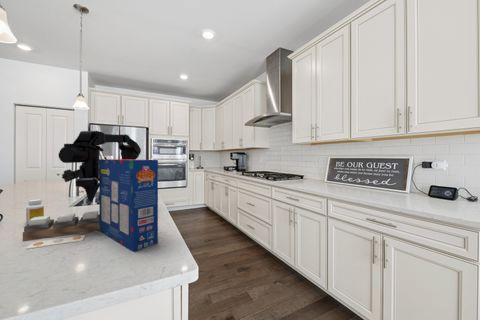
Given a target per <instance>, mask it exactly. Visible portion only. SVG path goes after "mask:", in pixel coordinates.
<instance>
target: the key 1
mask: <svg viewBox="0 0 480 320" xmlns="http://www.w3.org/2000/svg"><path fill="white" fill-rule="evenodd" d="M50 220H51V215H44V216H42V217H34V218H32V219H31V220H29V226H31V225H40V224H47V223H48V222H50Z"/></svg>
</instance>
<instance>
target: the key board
mask: <svg viewBox="0 0 480 320" xmlns="http://www.w3.org/2000/svg"><path fill="white" fill-rule="evenodd" d="M92 232H93V233H94V232H100V231H99V213H98V218H93V219H84V220H83V216H82V217H81V218H80V217H79V216H75V220H74V221H66V222H58V223H57V219H56V220H55V218H53V219H50V222H48V223H47V224H40V225H31V226H29V224H27V223H26V225H24V226H23V232H22V242H26V241H27V242H29V241H33V240H39V239H40V240H41V239H48V238H55V237H62V236H69V235H78V234H83V233H92Z"/></svg>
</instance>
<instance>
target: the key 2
mask: <svg viewBox="0 0 480 320" xmlns="http://www.w3.org/2000/svg"><path fill="white" fill-rule="evenodd" d="M98 214H99V210H96V211H94V210H93V211H84V212H83V214H82V217H83V220H84V219H93V218H98Z"/></svg>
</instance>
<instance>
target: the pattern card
mask: <svg viewBox="0 0 480 320" xmlns="http://www.w3.org/2000/svg"><path fill="white" fill-rule="evenodd" d="M85 238H86V234H84V235H76V236H69V237H63V238H62V237H61V238H56V239H48V240H41V241H40V240H39V241H34V242H32V243H30V244H29V245H28V246H27V247H26V248H25V249H26V250H31V249H37V248H44V247H50V246H51V247H52V246H58V245H64V244H70V243H76V242H82V241H84V239H85Z"/></svg>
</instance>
